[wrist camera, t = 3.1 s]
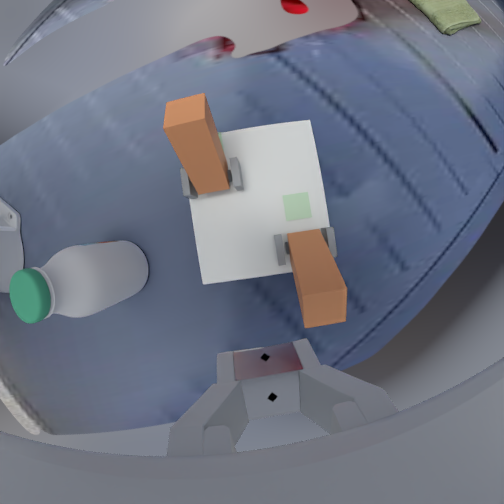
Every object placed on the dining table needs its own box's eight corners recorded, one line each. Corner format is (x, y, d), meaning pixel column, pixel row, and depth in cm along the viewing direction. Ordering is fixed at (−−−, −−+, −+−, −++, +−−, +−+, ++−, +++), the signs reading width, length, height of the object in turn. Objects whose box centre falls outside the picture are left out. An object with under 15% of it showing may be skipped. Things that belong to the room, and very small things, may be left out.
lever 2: (287, 258, 34) (301, 328, 24) (283, 231, 33) (298, 296, 22) (322, 253, 34) (349, 320, 24) (320, 225, 32) (350, 287, 22)
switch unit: (206, 281, 37) (195, 290, 32) (186, 145, 36) (173, 132, 31) (331, 263, 36) (341, 269, 31) (307, 125, 35) (313, 109, 29)
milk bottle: (147, 238, 37) (45, 247, 17) (153, 295, 38) (61, 347, 18) (101, 242, 38) (-6, 253, 18) (106, 295, 38) (7, 337, 19)
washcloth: (480, 25, 30) (487, 18, 27) (443, 39, 32) (451, 31, 29) (439, -17, 30) (444, -25, 27) (394, -9, 32) (398, -18, 28)
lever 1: (197, 198, 33) (159, 129, 22) (197, 173, 34) (163, 103, 23) (233, 191, 33) (208, 117, 22) (231, 166, 34) (207, 92, 23)
